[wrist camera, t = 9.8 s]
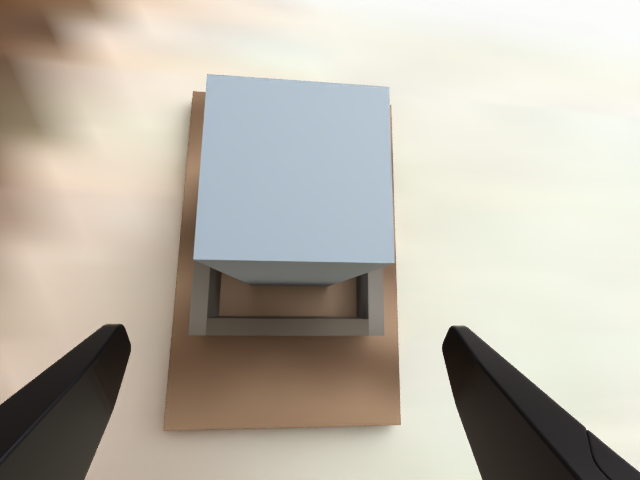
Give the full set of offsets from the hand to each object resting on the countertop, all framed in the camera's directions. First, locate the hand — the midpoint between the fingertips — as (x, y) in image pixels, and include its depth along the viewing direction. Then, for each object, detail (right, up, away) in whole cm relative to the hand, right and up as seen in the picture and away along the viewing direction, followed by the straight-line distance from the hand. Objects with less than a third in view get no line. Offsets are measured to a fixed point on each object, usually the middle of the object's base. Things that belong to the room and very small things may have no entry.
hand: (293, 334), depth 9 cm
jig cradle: (-1, +2, +12) cm, 12 cm away
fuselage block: (-1, +2, +11) cm, 11 cm away
